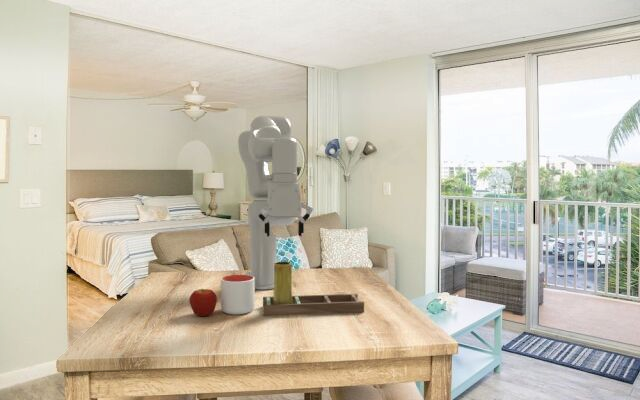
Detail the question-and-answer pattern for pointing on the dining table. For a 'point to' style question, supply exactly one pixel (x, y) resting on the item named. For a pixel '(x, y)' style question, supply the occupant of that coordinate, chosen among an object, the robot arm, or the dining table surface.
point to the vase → (282, 283)
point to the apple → (203, 302)
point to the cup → (237, 294)
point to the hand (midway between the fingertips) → (284, 235)
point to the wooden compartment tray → (314, 305)
